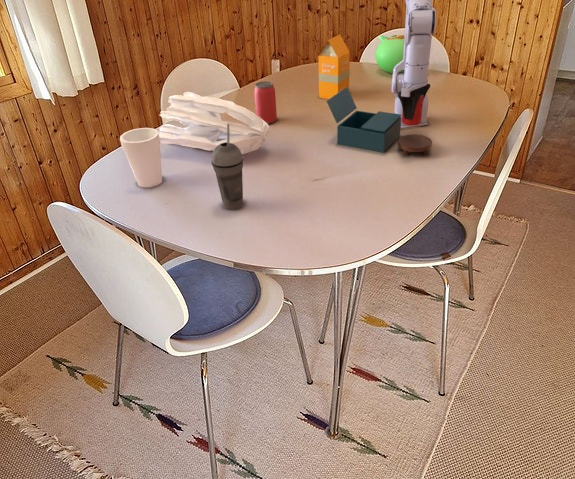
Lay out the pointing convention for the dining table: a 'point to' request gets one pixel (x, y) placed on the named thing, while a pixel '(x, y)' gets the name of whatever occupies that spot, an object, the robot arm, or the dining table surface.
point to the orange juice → (333, 67)
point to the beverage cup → (229, 173)
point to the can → (417, 114)
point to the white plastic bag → (210, 123)
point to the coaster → (414, 143)
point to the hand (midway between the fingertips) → (412, 115)
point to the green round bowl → (390, 52)
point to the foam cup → (143, 155)
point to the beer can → (265, 101)
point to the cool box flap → (341, 104)
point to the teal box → (369, 130)
